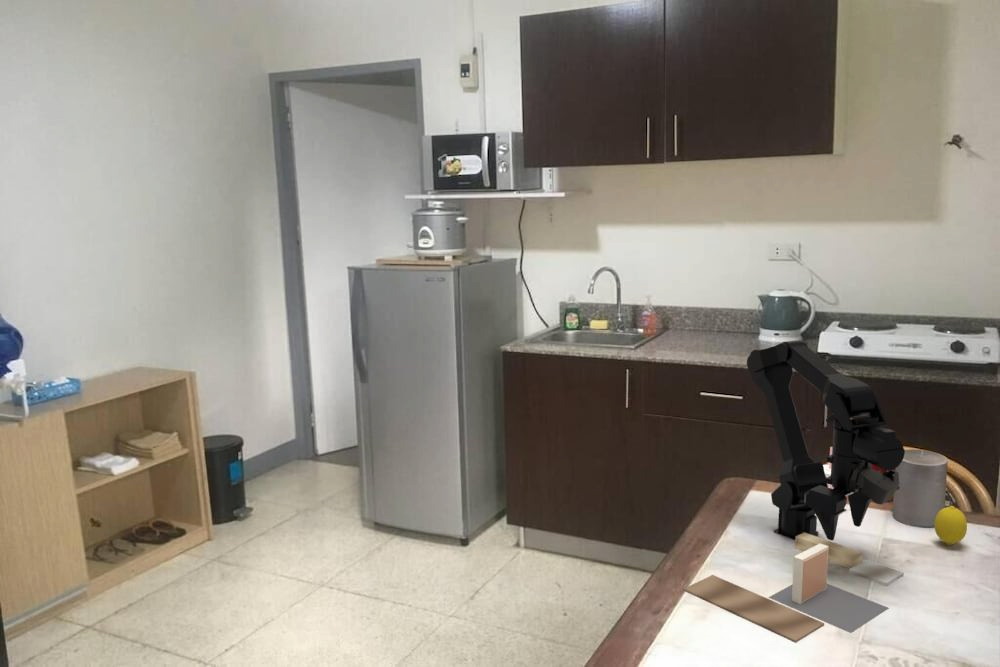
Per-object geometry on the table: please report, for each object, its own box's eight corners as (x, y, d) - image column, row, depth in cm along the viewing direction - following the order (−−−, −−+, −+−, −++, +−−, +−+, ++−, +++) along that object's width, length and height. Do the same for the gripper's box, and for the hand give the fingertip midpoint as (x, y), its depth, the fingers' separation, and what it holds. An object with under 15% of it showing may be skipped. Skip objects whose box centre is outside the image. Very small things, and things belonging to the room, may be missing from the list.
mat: (768, 599, 145) (768, 597, 145) (807, 578, 152) (807, 575, 152) (850, 635, 133) (851, 632, 133) (889, 610, 140) (889, 607, 140)
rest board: (683, 592, 148) (683, 588, 148) (712, 578, 153) (712, 574, 152) (795, 645, 131) (795, 640, 131) (824, 627, 136) (824, 623, 135)
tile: (791, 600, 143) (793, 556, 142) (817, 585, 148) (820, 543, 147) (801, 604, 142) (803, 560, 141) (827, 589, 147) (829, 546, 145)
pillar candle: (908, 506, 184) (912, 440, 181) (953, 520, 176) (958, 451, 173) (882, 517, 178) (886, 449, 175) (927, 532, 170) (932, 461, 168)
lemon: (969, 552, 161) (972, 512, 160) (937, 550, 162) (941, 510, 161) (959, 540, 166) (963, 501, 165) (929, 538, 168) (932, 500, 166)
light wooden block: (790, 553, 163) (790, 538, 162) (807, 544, 166) (808, 530, 166) (886, 589, 148) (887, 573, 147) (903, 578, 152) (904, 563, 151)
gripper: (864, 476, 141) (858, 562, 144) (918, 452, 153) (911, 532, 156) (804, 459, 150) (800, 541, 153) (859, 437, 161) (854, 514, 164)
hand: (844, 532), depth 156 cm, fingers open, 9 cm apart
